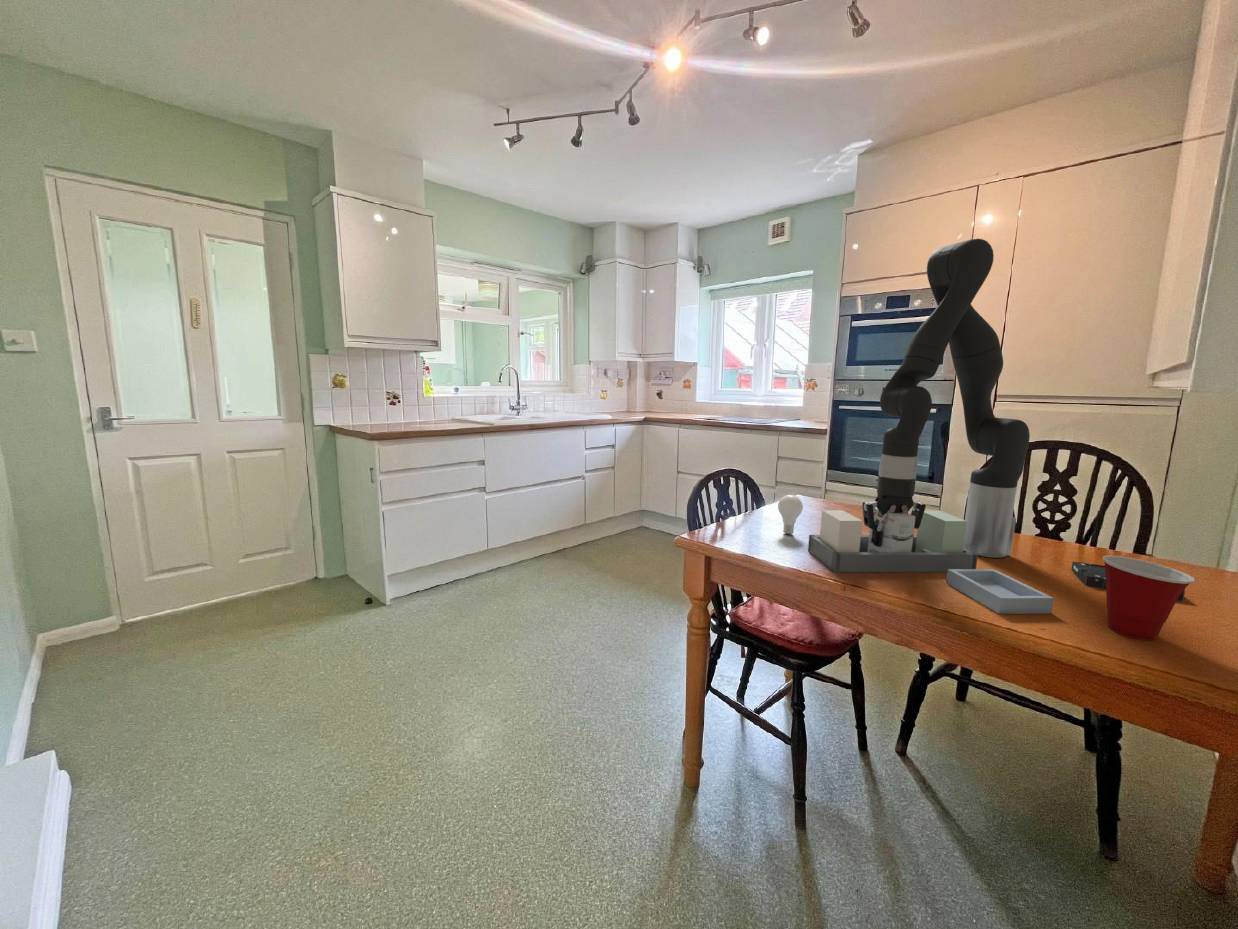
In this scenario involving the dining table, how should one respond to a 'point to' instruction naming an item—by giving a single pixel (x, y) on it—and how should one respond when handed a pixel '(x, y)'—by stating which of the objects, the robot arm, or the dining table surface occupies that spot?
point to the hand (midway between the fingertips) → (889, 545)
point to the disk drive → (1096, 575)
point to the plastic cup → (1141, 595)
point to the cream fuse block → (840, 530)
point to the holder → (890, 558)
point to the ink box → (895, 533)
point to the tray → (999, 591)
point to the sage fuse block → (941, 532)
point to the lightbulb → (789, 511)
